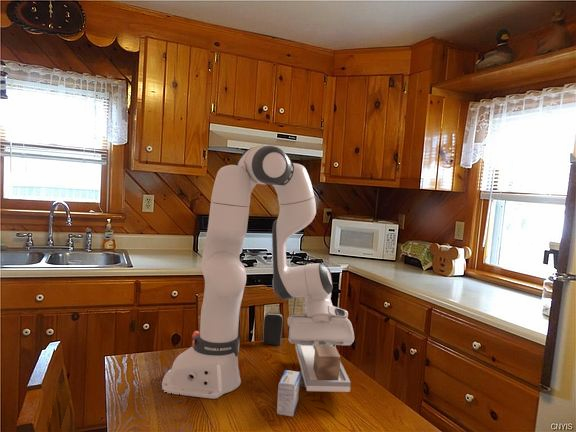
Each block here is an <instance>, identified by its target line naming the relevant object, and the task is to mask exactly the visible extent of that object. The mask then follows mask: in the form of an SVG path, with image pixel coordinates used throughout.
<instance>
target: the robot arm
mask: <svg viewBox="0 0 576 432" xmlns="http://www.w3.org/2000/svg"><path fill="white" fill-rule="evenodd" d="M256 185H270V186H272V187H273V188H274V189H275V192H276V195H277V200H278V205H279V212H278V216H277V219H275V220H274V221H273V223H272V229H271V230H272V231H271V232H272V234H271V235H272V237H271V239H272V240H271V242H272V245H271V246H272V248H271V249H272V270H273V271H272V273H273V274H272V289H273V292H274V295H276V296H277V297H279V298H280V299H282V300H283V301H286V300H287V301H288V300H291V299H292V300H293V299H295V298H300V297H304V298H305V313H298V314H297V313H292V314H290V315H289V316H288V317H287V321H286V323H287V326H288V327H289V328H288V329H289V330H288V338H287V339H288V342H289V343H290V344H293V345H296V344H313V348H314V350H315V346H318V345H319V344H320V345H325V346H331V345H333V346H351V345H352V344H353V343H354V341H355V332H354V328H353V325H352V322H351V321H350V319H348V318H349V312H348V311H347V310H346V309H344V308H343V309H342V308H341V307H337V306H334V305H333V303H332V299H331V298H332V291H333V289H334V287H333V278H332V272H331V270H330V268H328V267H327V266H326V265H324V264H323V263H319V262H317V263H310V264H305V265H298V266H291V267H290V266H288V265H287V248H286V247H287V242H288V241H287V240H288V239H290V237H292V236H293V235H295V234H297V233H298V232H301V231H302V230H303V229H305V228H306V227H307V226H309V225H310V224H311V223H312V222H313V220H314V219H315V216H316V215H317V205H316V197H315V194H314V193H315V192H314V189H313V185H312V181H311V178H310V175H309V173H308V171H307V169H306V167H305V166H304V165H302V164H300V163H295V162H292V161H291V159H290V158H289V156H288V155H287V154H286V152H285V151H284V150H282V149H281V148H279V147H278V146H275V145H257V146H254V147H250V148H248V149H246V150H245V151H244V152H243V153H241V156H240V157H239V158H238V159H237V161H236V162H235V164H229V165H228V164H227V165H225V166H222V167H220V169H219V170H218V171H217V173H216V176H215V179H214V184H213V187H212V191H211V192H212V193H211V198H210V207H209V215H208V224H207V231H206V237H205V240H204V245H203V252H202V257H201V262H200V263H201V264H200V270H201V273H202V275H203V278H204V291H203V299H202V305H201V308H200V309H201V310H200V324H199V325H200V327H199V331H198V330H194V332H193V334H192V340H191V341H192V343H191V346H190V347H189V348H187V349H186V350H185V351H183V352H182V353H180V354H178V355H177V357H176V358H175V359H174V362H173V364H172V367H171V368H170V369H169V370H168V371H167V372H166V373H165V374H164V376H163V378H162V383H161V389H162V391H163V390H164V391H163V392H164V393H165V392H167V393H166V394H171V393H172V394H173V395H179V394H180V396H181V395H182V396H186V397H188V396H189V397H196V398H204V399H211V400H213V399H218V398H220V397H221V396H222V395H224V394H227V393H230V392H233V391H234V390H237V388H238V387H239V386H240V385H241V383H242V379H241V377H240V376H241V375H240V370H239V359H238V357H239V356H238V355H239V353H240V335H239V321H240V310H241V305H242V300H243V295H244V291H245V287H246V284H247V271H246V267H245V266H244V263H242V261H241V260H240V255H241V250H242V247H243V245H244V239H245V238H246V234H247V231H248V222H249V215H250V205H251V195H252V193H253V190H254V188H255V187H256Z"/></svg>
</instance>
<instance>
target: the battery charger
mask: <svg viewBox="0 0 576 432" xmlns="http://www.w3.org/2000/svg"><path fill="white" fill-rule="evenodd" d="M283 321H284V320H283V315H282V314H281V313H280V312H266V313H265V314H264V317H263V335H262V344H264V345H265V344H266V345H274V346H275V345H276V346H277V345H278V346H279V345H281V344H282V333H283V332H282V331H283Z"/></svg>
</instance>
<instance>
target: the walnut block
mask: <svg viewBox="0 0 576 432" xmlns="http://www.w3.org/2000/svg"><path fill="white" fill-rule="evenodd" d="M340 361H341V355H340V353H339V351H338V349H337V347H336V345H333V346H315V354H314V367H313V369H314V372H315V375H316V378H317V380H339V368H340Z"/></svg>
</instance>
